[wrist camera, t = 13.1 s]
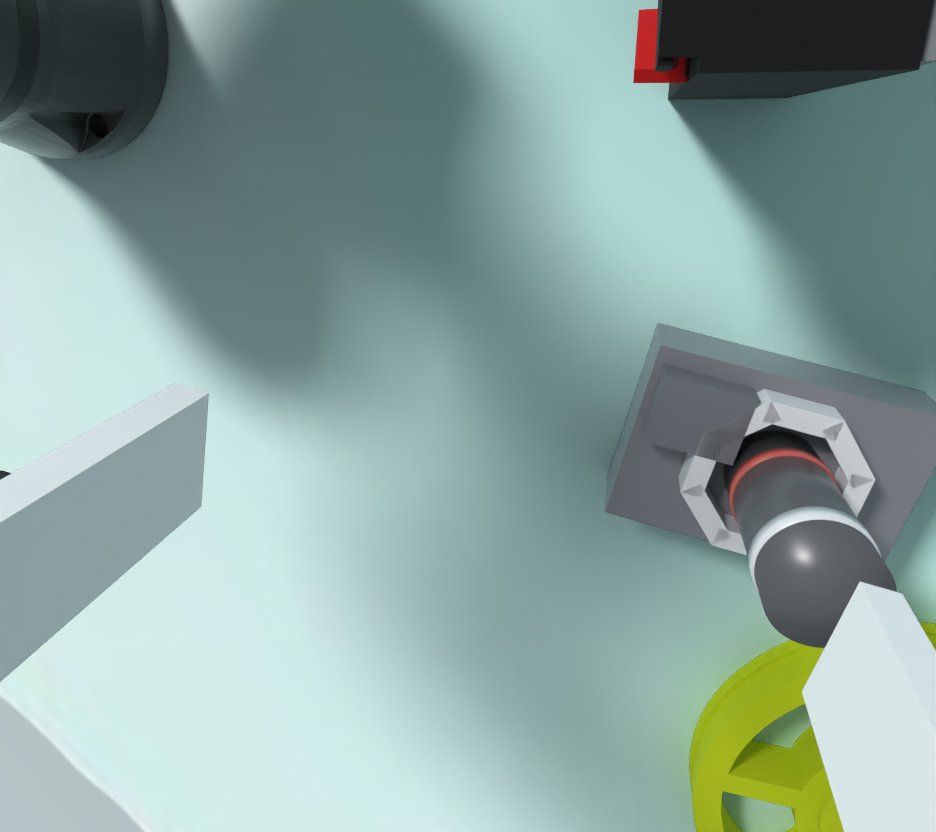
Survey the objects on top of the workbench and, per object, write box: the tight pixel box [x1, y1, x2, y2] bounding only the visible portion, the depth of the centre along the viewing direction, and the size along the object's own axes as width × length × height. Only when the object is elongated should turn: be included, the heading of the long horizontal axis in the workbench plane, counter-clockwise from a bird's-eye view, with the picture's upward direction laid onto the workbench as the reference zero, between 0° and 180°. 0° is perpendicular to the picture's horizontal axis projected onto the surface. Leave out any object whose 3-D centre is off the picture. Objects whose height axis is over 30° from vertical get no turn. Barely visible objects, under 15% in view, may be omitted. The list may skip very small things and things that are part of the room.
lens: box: [724, 431, 896, 648], centre depth 36 cm, size 5×5×12 cm
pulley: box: [689, 622, 936, 832], centre depth 51 cm, size 28×28×5 cm
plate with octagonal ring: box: [605, 323, 936, 561], centre depth 43 cm, size 16×11×7 cm
